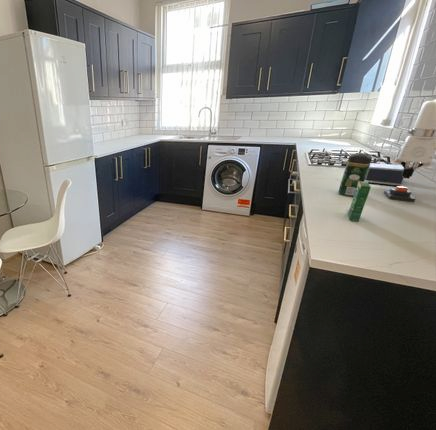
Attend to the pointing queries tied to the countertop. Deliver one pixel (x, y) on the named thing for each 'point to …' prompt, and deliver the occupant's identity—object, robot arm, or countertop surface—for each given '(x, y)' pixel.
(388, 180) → the chest
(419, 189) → the countertop surface
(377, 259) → the countertop surface
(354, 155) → the coffee jar
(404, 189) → the button
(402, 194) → the control block
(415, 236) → the countertop surface
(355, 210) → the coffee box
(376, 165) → the lid
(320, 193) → the countertop surface
